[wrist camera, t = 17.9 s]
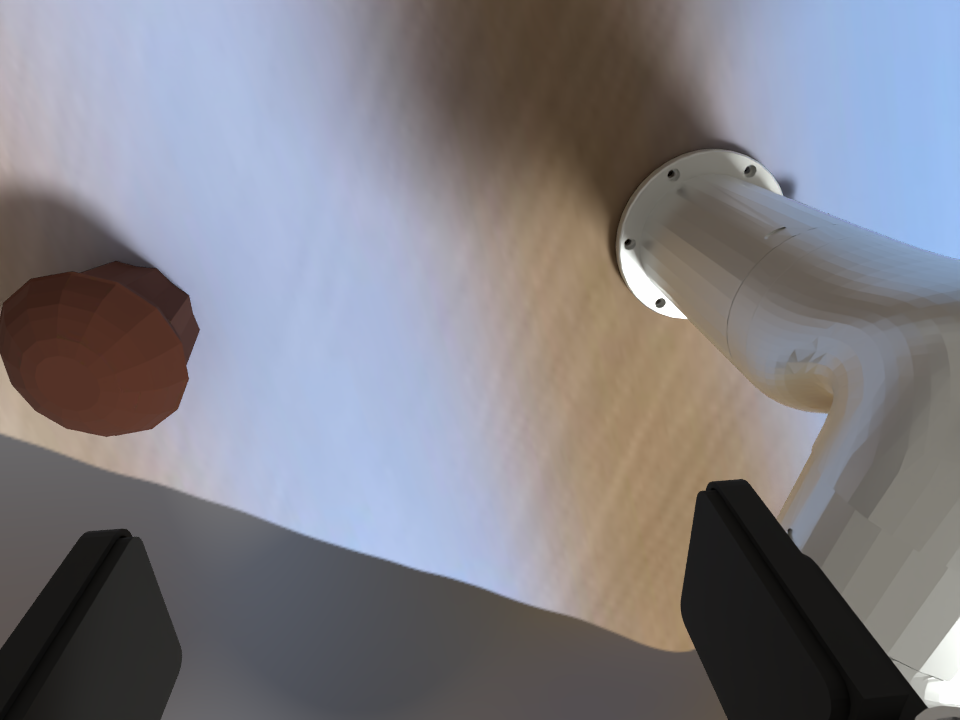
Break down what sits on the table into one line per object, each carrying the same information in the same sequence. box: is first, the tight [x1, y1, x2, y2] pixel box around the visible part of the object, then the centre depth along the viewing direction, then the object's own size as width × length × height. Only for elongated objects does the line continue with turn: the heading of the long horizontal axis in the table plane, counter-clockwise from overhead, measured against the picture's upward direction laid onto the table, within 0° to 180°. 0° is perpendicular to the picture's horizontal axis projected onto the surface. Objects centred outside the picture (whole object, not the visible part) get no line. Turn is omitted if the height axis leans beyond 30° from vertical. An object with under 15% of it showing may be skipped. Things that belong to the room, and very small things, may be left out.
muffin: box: [0, 261, 200, 437], centre depth 41 cm, size 12×11×10 cm
